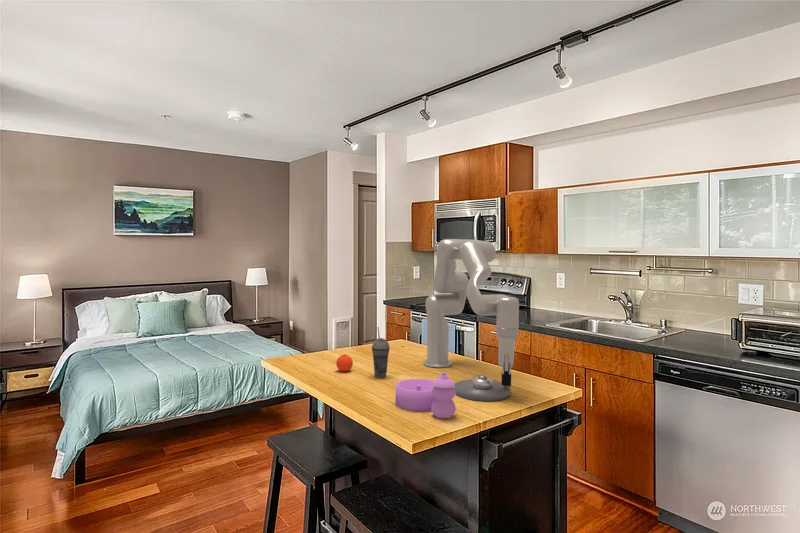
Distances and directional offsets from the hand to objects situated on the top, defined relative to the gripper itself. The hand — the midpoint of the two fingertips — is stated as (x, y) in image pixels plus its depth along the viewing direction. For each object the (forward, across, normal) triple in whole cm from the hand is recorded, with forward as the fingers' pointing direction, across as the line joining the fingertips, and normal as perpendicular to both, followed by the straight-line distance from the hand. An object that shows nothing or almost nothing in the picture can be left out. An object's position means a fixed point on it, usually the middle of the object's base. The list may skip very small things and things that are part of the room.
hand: (506, 385), depth 165 cm
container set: (+5, +18, -25) cm, 31 cm away
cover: (+2, -3, -8) cm, 9 cm away
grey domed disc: (+4, -4, -8) cm, 10 cm away
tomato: (+5, -20, -67) cm, 70 cm away
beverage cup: (+5, -15, -50) cm, 52 cm away
